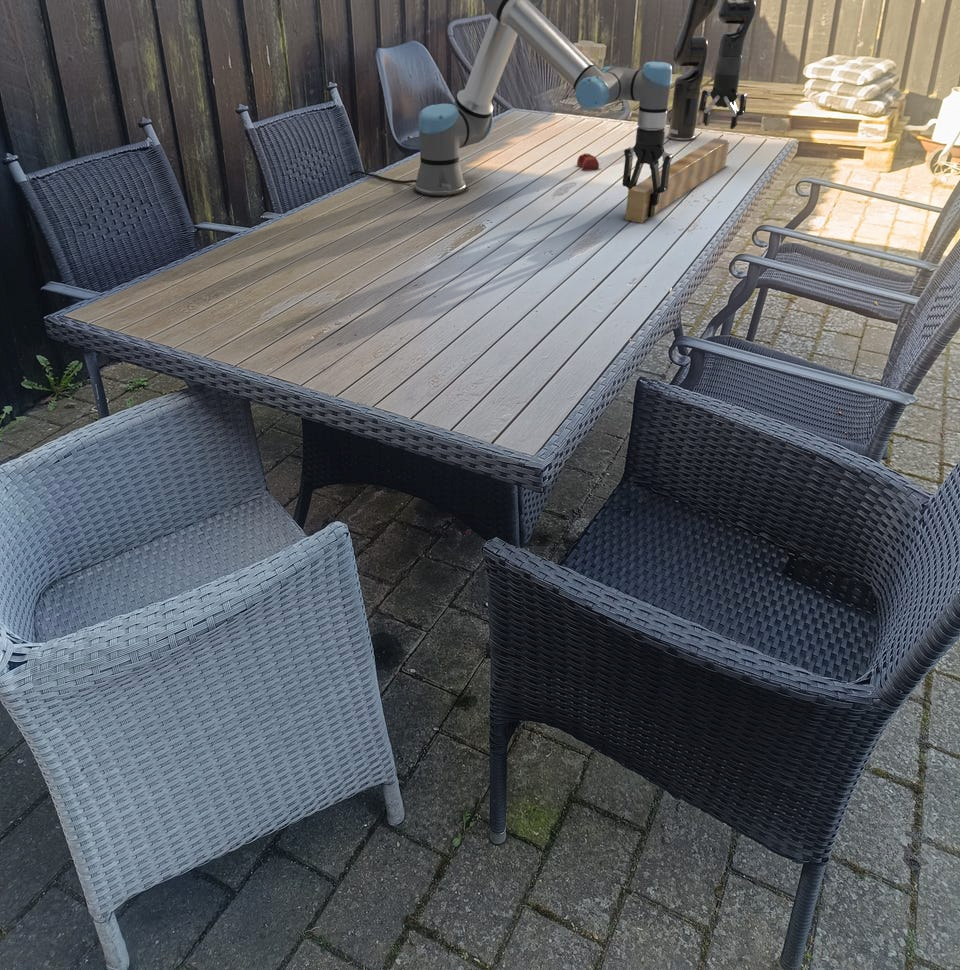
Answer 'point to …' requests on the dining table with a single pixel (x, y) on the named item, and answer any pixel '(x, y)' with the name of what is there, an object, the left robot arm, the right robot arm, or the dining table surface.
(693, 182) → the bar
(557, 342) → the dining table surface
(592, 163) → the red rounded lump
